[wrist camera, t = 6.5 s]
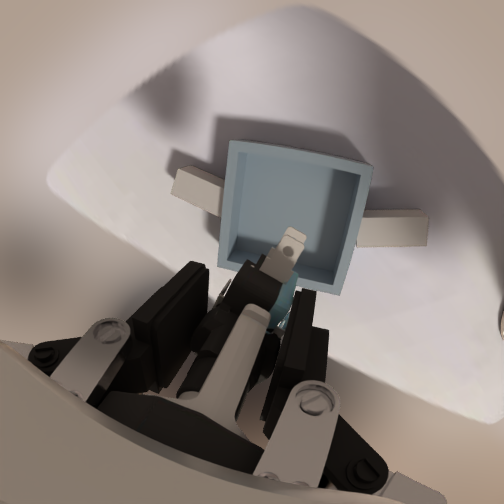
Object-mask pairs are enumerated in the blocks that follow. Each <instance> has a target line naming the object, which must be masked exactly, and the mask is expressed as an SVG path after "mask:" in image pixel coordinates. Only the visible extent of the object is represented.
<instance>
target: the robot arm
mask: <svg viewBox="0 0 504 504" xmlns="http://www.w3.org/2000/svg"><path fill="white" fill-rule="evenodd" d="M208 287H209V269H206V267H205V264H202V263H198V262H194V261H190V262H189V263H188V264H186V265H185V266H184V267H183V268H182V269H181V270H180V271H179V272H178V273H177V274H176V275H175V276H174V277H173V278H172V279H171V280H170V281H169V282H168V283H167V284H165V286H163V287H161V288H160V289H159V290H158V291H157V292H156V293H154V295H152V296H151V297H150V298H149V299H148V300H147V301H146V302H145V303H144V304H143V305H142V306H141V307H140V308H139V309H138V310H137V311H136V312H135V313H134V314H133V315H132V316H131V317H130V318H129V319H128V320H127V321H126V322H125V321H123V320H121V319H117V318H105V319H101V320H100V321H97V322H96V323H94V324H93V325H92V326H91V327H90V329H89V330H88V331H87V332H86V333H85V334H84V335H83V337H77V338H70V339H63V340H56V341H47V342H43V343H40V344H38V345H36V346H35V347H34V346H33V344H25V343H18V342H11V341H4V340H0V504H447V500H446V498H445V497H444V495H442V494H441V493H440V492H438V491H436V490H433V489H431V488H429V487H427V486H425V485H422V484H421V483H419V482H417V481H414V480H413V479H411V478H409V477H407V476H405V475H403V474H401V473H399V472H398V471H397V472H396V473H393V472H391V471H389V470H388V467H387V464H386V462H385V461H384V460H383V458H382V457H381V456H380V455H379V454H378V453H377V452H376V451H375V450H374V449H373V448H372V447H370V446H369V444H368V443H367V442H366V441H365V440H364V439H363V438H361V436H360V435H359V434H358V433H357V432H356V431H355V430H354V429H353V428H352V427H351V426H350V425H349V424H348V423H347V422H346V421H345V420H344V419H343V418H342V417H341V416H340V415H339V410H340V398H339V395H338V393H337V392H336V391H335V389H334V388H332V387H331V386H329V385H328V384H326V383H325V378H326V367H327V355H328V342H329V330H327V329H322V328H318V327H313V326H312V323H313V316H314V308H315V301H316V292H317V291H313V290H309V289H305V288H302V291H301V292H300V291H295V295H294V299H293V303H292V307H291V311H290V315H289V318H288V322H287V326H286V330H285V333H284V337H283V340H282V344H281V348H280V351H279V355H278V358H277V362H276V365H275V369H274V372H273V376H272V379H271V383H270V386H269V390H268V393H267V397H266V400H265V404H264V407H263V410H262V413H261V416H260V420H263V421H266V422H265V425H264V428H263V429H264V430H263V433H264V434H265V436H266V437H267V438H268V439H269V442H268V445H267V447H266V449H265V451H264V453H263V455H262V457H261V459H260V461H259V463H258V465H257V467H256V469H255V471H254V473H253V475H251V474H247V473H243V472H240V471H236V470H233V469H229V468H226V467H223V466H220V465H217V464H214V463H211V462H208V461H205V460H202V459H199V458H196V457H194V456H191V455H189V454H186V453H183V452H181V451H178V450H176V449H174V448H171V447H169V446H167V445H164V444H162V443H160V442H158V441H155V440H153V439H151V438H149V437H147V436H145V435H143V434H141V433H139V432H137V431H135V430H133V429H131V428H129V427H127V426H125V425H123V424H121V423H119V422H118V421H116V420H114V419H112V418H111V417H109V416H107V415H105V414H104V413H102V412H100V411H99V410H97V408H98V406H99V405H100V404H101V403H102V401H103V400H104V399H105V398H106V396H107V395H108V394H109V393H110V392H111V391H119V392H126V393H134V394H143V393H144V392H147V391H148V390H151V391H153V392H155V393H158V394H159V392H160V391H161V390H162V388H163V387H164V388H167V387H168V386H169V385H170V383H171V382H172V380H173V378H174V377H175V376H176V374H177V372H178V371H179V369H180V368H181V366H182V365H183V363H184V361H185V360H186V359H187V357H188V355H189V354H190V352H191V348H190V341H191V337H192V335H193V333H194V331H195V330H196V328H197V327H198V325H199V324H200V323H201V321H202V320H203V318H204V317H205V315H206V314H207V307H208ZM501 335H502V339H503V340H504V312H503V315H502V319H501Z"/></svg>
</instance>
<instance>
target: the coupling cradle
mask: <svg viewBox="0 0 504 504" xmlns="http://www.w3.org/2000/svg"><path fill="white" fill-rule="evenodd" d="M373 168H374V167H373V166H372V165H370V164H368V163H365V162H361V161H357V160H353V159H349V158H344V157H340V156H335V155H331V154H326V153H321V152H316V151H311V150H306V149H301V148H295V147H289V146H283V145H277V144H271V143H264V142H257V141H249V140H229V149H228V157H227V166H226V176H225V180H224V179H221V178H219V177H217V176H215V175H212V174H210V173H208V172H206V171H203V170H201V169H199V168H196V167H194V166H192V165H190V166H186V167H182V168H178V171H177V174H176V177H175V181H174V184H173V187H172V191H171V194H172V195H174V196H176V197H178V198H180V199H182V200H184V201H186V202H189V203H191V204H193V205H195V206H197V207H199V208H201V209H203V210H205V211H207V212H209V213H211V214H214V215H216V216H218V217H220V218H221V227H220V239H219V250H218V263H217V267H220V268H224V269H229V270H233V271H237V272H238V271H239V270H240V268H241V267H242V265H243V264H244V262H245V261H246V260H247V259H248V260H250V261H251V262H253V263H255V264H256V263H257V261H258V260H259V258H260V256H261V254H264V255H266V256H267V255H268V253H269V251H270V250H271V248H272V247H273V248H275V249H276V247H277V245H278V244H279V242H280V240H281V238H282V237H283V235H284V233H285V231H286V230H287V228H288V227H290V226H291V227H293V228H295V229H297V230H299V231H300V232H302V233H304V234H306V237H307V238H306V240H305V242H304V243H303V244H304V249H303V251H302V252H301V254H300V256H299V257H298V259H297V260H296V261H297V262H296V264H295V265H294V267H293V268H292V270H293V271H294V272H296V273H298V279H297V283H296V286H299V287H304V288H308V289H312V290H317V291H321V292H325V293H330V294H334V295H339V296H340V293H341V290H342V287H343V284H344V281H345V278H346V274H347V271H348V268H349V264H350V261H351V258H352V254H353V251H354V247H355V244H356V246H357V248H363V247H410V246H427V237H428V222H429V217H428V216H427V215H426V214H425V213H424V212H422V211H421V210H420V209H402V210H364V209H365V205H366V201H367V196H368V192H369V187H370V183H371V178H372V173H373ZM293 238H294V237H293ZM295 239H296V238H295Z"/></svg>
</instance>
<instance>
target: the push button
mask: <svg viewBox="0 0 504 504" xmlns="http://www.w3.org/2000/svg"><path fill="white" fill-rule="evenodd" d="M293 237H294V238H293ZM295 238H296V239H295ZM306 238H307V237H306V234H304V233H302V232H300V231H299V230H297V229H295V228H293V227H291V226H290V227H288V228H287V230H286V231H285V233H284V235H283V237H282V238H281V240H280V242H279V244H278V245H277V247H276V249H275V248H273V247H272V248H271V250H270V251H269V253H268V255H267V256H266V255H264V254H261V256H260V258H259V260H258V261H257V263H256V264H255V263H253V262H251V261H250V260H248V259H247V260H246V261H245V262H244V264H243V265H242V267H241V268H240V270H239V271H238V273H237V274H236V276H235V278H234V279H233V281H232V283H231V285H230V287H229V289H228V291H227V293H226V295H225V296H223V295H224V294H225V292H226V290H227V288H228V286H229V284H230V282H231V279H229V281H228V282H227V284H226V285H225V287H224V288H223V290H222V291H221V293H220V294H219V296H218V298H217V300H216V302H215V304H214V306H213V308H212V310H211V311H209V312H208V313H207V314H206V315H205V317H204V318H203V320H202V321H201V323H200V324H199V325H198V327H197V328H196V330H195V331H194V333H193V335H192V337H191V341H190V348H191V351H193V352H195V355H196V356H197V357H196V358H195V360H194V362H193V364H192V366H191V368H190V370H189V372H188V373H187V377H186V378H185V380H184V381H183V383H182V385H181V386H180V388H179V390H178V391H177V394H176V398H177V399H175V398H168V397H161V396H155V395H150V394H147V395H143V394H134V393H126V392H119V391H111V392H110V393H109V394H108V395H107V396H106V398H105V399H104V400H103V401H102V403H101V404H100V405H99V406H98V408H97V410H99V411H100V412H102V413H104V414H105V415H107V416H109V417H111V418H112V419H114V420H116V421H118V422H119V423H121V424H123V425H125V426H127V427H129V428H131V429H133V430H135V431H137V432H139V433H141V434H143V435H145V436H147V437H149V438H151V439H153V440H155V441H158V442H160V443H162V444H164V445H167V446H169V447H171V448H174V449H176V450H178V451H181V452H183V453H186V454H189V455H191V456H194V457H196V458H199V459H202V460H205V461H208V462H211V463H214V464H217V465H220V466H223V467H226V468H229V469H233V470H236V471H240V472H243V473H247V474H251V475H253V473H254V471H255V469H256V467H257V465H258V463H259V461H260V459H261V457H262V455H263V453H264V451H265V450H264V449H262V448H261V447H259V446H257V445H255V444H253V443H251V442H250V441H249V439H248V438H247V437H246V435H245V434H244V433H243V432H242V430H241V429H240V428H239V427H238V426H237V424H236V421H237V419H238V417H239V414H240V411H241V409H242V406H243V404H244V401H245V398H246V396H247V393H248V392H249V391H250V390H251V389H252V388H253V387H254V386H255V385H256V384H259V383H261V382H263V381H265V380H266V379H267V378H269V376H270V375H271V374H272V372H273V370H274V368H275V364H276V361H277V357H278V354H279V350H280V345H281V344H280V340H281V337H282V336H283V335H284V333H285V330H286V326H287V322H288V318H289V315H290V312H288V311H289V310H290V308H291V305H292V303H293V299H294V297H293V295H294V291H295V287H296V283H297V279H298V273H296V272H294V271H293V270H292V268H293V267H294V265H295V264H296V262H297V261H296V260H297V259H298V257H299V256H300V254H301V252H302V251H303V249H304V244H303V243H304V242H305V240H306ZM287 313H288V314H287ZM284 317H285V318H284ZM280 321H282V322H281V323H280V325H279V327H278V326H277V325H278V324H279V322H280ZM283 324H284V325H283ZM282 326H283V327H282Z"/></svg>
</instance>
